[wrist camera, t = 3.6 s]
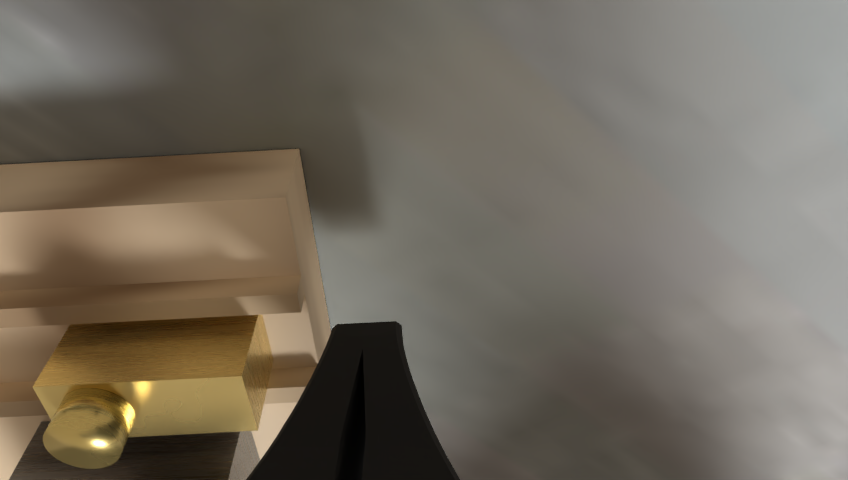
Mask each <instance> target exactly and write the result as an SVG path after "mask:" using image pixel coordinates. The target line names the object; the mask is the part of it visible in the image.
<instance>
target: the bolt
mask: <svg viewBox="0 0 848 480" xmlns="http://www.w3.org/2000/svg"><path fill="white" fill-rule="evenodd" d="M273 360H274V359H273V355H272V351H271V347H270V343H269V339H268V335H267V331H266V327H265V323H264V319H263V315H243V316H224V317H205V318H186V319H166V320H147V321H128V322H109V323H90V324H70V326H69V327H68V329H67V331H66V332H65V334H64V336H63V337H62V339H61V341H60V342H59V344H58V346H57V347H56V349H55V351H54V352H53V354H52V355H51V357H50V359H49V360H48V362H47V364H46V365H45V367H44V369H43V370H42V372H41V374H40V375H39V377H38V379H37V380H36V382H35V384H34V385H33V389H34V391H35V392H36V394H37V396H38V398H39V399H40V401H41V403H42V405H43V406H44V408H45V410H46V412H47V413H48V415H49V417H50V419H51V422H50V423H49V425H48V427H47V429H46V431H45V433H44V435H43V444H44V446H45V448H46V449H47V451H48V452H49V453H50V454H51V455H52V456H53V457H55V458H56V459H58V460H60V461H61V462H63V463H66V464H68V465H71V466H75V467H79V468H85V469H98V468H104V467H108V466H110V465H112V464H114V463H115V462H116V461H117V460H118V459H119V458H120V456H121V454H122V451H123V449H124V446H125V444H126V442H127V439H128V437H143V436H162V435H182V434H201V433H221V432H240V431H258V428H259V423H260V419H261V414H262V410H263V405H264V401H265V396H266V392H267V387H268V383H269V378H270V374H271V369H272V365H273Z"/></svg>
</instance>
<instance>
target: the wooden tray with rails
mask: <svg viewBox="0 0 848 480" xmlns="http://www.w3.org/2000/svg"><path fill="white" fill-rule="evenodd" d="M243 315H263V319H264V323H265V327H266V331H267V335H268V339H269V343H270V347H271V351H272V355H273V359H274V360H273V365H272V369H271V374H270V378H269V383H268V387H267V392H266V396H265V401H264V405H263V410H262V414H261V419H260V423H259V428H258V431H251V432H252V435H253V438H254V441H255V445H256V448H257V451H258V454H259V458H260V460H261V459H262V457H263V456H264V454H265V453H266V451H267V450H268V449H269V447H270V446H271V444H272V443H273V441H274V440H275V438H276V437H277V435H278V433H279V432H280V430H281V429H282V427H283V425H284V424H285V422H286V420H287V419H288V417H289V416H290V414H291V412H292V411H293V409H294V407H295V406H296V404H297V402H298V400H299V399H300V397H301V395H302V393H303V391H304V389H305V387H306V386H307V384H308V382H309V380H310V378H311V376H312V374H313V372H314V370H315V368H316V366H317V364H318V362H319V360H320V358H321V356H322V353H323V351H324V349H325V347H326V344H327V342H328V339H329V337H330V334H331V329H330V323H329V317H328V311H327V306H326V300H325V294H324V288H323V283H322V277H321V271H320V266H319V260H318V254H317V248H316V243H315V237H314V231H313V225H312V220H311V214H310V208H309V202H308V197H307V191H306V185H305V179H304V174H303V168H302V162H301V156H300V151H299V149H286V150H267V151H248V152H230V153H211V154H192V155H173V156H155V157H136V158H117V159H99V160H80V161H61V162H42V163H24V164H5V165H0V480H9V478H10V477H11V475H12V473H13V471H14V470H15V468H16V466H17V464H18V462H19V461H20V459H21V457H22V455H23V453H24V452H25V450H26V448H27V446H28V445H29V443H30V441H31V439H32V437H33V436H34V434H35V432H36V430H37V428H38V427H39V425H40V423H41V421H51V419H50V417H49V415H48V413H47V412H46V410H45V408H44V406H43V405H42V403H41V401H40V399H39V398H38V396H37V394H36V392H35V391H34V389H33V385H34V384H35V382H36V380H37V379H38V377H39V375H40V374H41V372H42V370H43V369H44V367H45V365H46V364H47V362H48V360H49V359H50V357H51V355H52V354H53V352H54V351H55V349H56V347H57V346H58V344H59V342H60V341H61V339H62V337H63V336H64V334H65V332H66V331H67V329H68V327H69V326H70V324H90V323H109V322H128V321H147V320H166V319H186V318H205V317H224V316H243Z"/></svg>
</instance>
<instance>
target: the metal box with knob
mask: <svg viewBox="0 0 848 480" xmlns="http://www.w3.org/2000/svg"><path fill="white" fill-rule="evenodd" d="M50 422H51V421H41V423H40V425H39V427H38V428H37V430H36V432H35V434H34V436H33V437H32V439H31V441H30V443H29V445H28V446H27V448H26V450H25V452H24V453H23V455H22V457H21V459H20V461H19V462H18V464H17V466H16V468H15V470H14V471H13V473H12V475H11V477H10V478H9V480H246V479H247V478H248V476H249V475H250V474H251V472H252V471H253V469H254V468H255V467H256V465H257V464H258V463H259V461H260V458H259V454H258V451H257V448H256V445H255V441H254V438H253V435H252V432H251V431H240V432H221V433H201V434H182V435H162V436H143V437H128V439H127V442H126V444H125V446H124V449H123V451H122V454H121V456H120V458H119V459H118V460H117V461H116V462H115V463H114V464H112V465H110V466H108V467H104V468H98V469H85V468H79V467H75V466H71V465H68V464H66V463H63V462H61V461H60V460H58V459H56V458H55V457H53V456H52V455H51V454H50V453H49V452H48V451H47V449H46V448H45V446H44V444H43V435H44V433H45V431H46V429H47V427H48V425H49V423H50Z"/></svg>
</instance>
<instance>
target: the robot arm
mask: <svg viewBox="0 0 848 480" xmlns="http://www.w3.org/2000/svg"><path fill="white" fill-rule="evenodd" d="M246 480H460V479H459V477H458V475H457V474H456V472H455V470H454V468H453V467H452V465H451V463H450V461H449V459H448V458H447V456H446V454H445V452H444V450H443V448H442V446H441V444H440V442H439V440H438V438H437V436H436V434H435V432H434V430H433V428H432V426H431V424H430V421H429V419H428V417H427V415H426V412H425V410H424V408H423V405H422V403H421V400H420V398H419V395H418V392H417V390H416V387H415V384H414V382H413V379H412V376H411V373H410V370H409V366H408V363H407V359H406V355H405V351H404V346H403V337H402V326H401V325H400V324H399V323H397V322H396V321H394V322H374V323H354V324H337V325H336V326H335V327H334V328H333V329H332V331H331V334H330V337H329V339H328V342H327V344H326V347H325V349H324V351H323V353H322V356H321V358H320V360H319V362H318V364H317V366H316V368H315V370H314V372H313V374H312V376H311V378H310V380H309V382H308V384H307V386H306V387H305V389H304V391H303V393H302V395H301V397H300V399H299V400H298V402H297V404H296V406H295V407H294V409H293V411H292V412H291V414H290V416H289V417H288V419H287V420H286V422H285V424H284V425H283V427H282V429H281V430H280V432H279V433H278V435H277V437H276V438H275V440H274V441H273V443H272V444H271V446H270V447H269V449H268V450H267V451H266V453H265V454H264V456H263V457H262V459H261V460H260V461H259V463H258V464H257V465H256V467H255V468H254V469H253V471H252V472H251V474H250V475H249V476H248V478H247V479H246Z"/></svg>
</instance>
